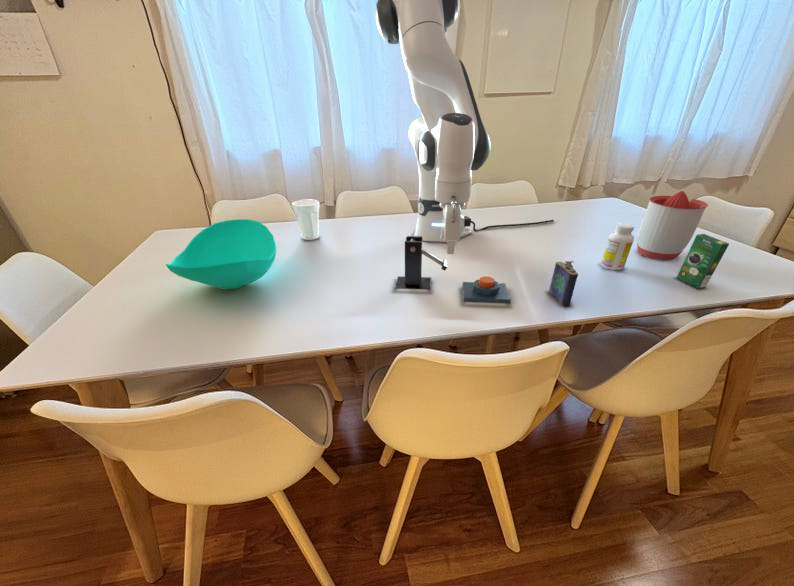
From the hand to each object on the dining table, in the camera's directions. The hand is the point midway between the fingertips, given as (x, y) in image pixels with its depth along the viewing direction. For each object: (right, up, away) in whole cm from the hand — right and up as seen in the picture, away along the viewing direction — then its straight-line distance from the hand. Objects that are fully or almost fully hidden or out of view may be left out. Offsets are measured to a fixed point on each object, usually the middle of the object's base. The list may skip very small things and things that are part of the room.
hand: (449, 246), depth 101 cm
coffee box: (+70, -9, +7) cm, 71 cm away
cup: (-48, +17, +44) cm, 67 cm away
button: (+10, -11, -1) cm, 14 cm away
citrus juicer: (+74, +5, +26) cm, 79 cm away
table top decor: (-63, -8, +11) cm, 65 cm away
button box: (+10, -13, +1) cm, 17 cm away
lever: (-6, -2, +2) cm, 7 cm away
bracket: (-10, -9, +8) cm, 15 cm away
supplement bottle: (+54, -1, +18) cm, 56 cm away
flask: (+30, -14, 0) cm, 33 cm away
